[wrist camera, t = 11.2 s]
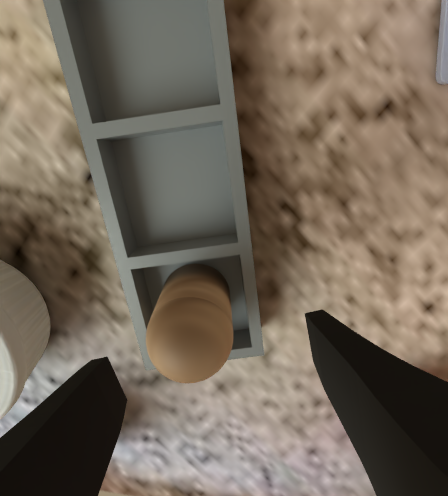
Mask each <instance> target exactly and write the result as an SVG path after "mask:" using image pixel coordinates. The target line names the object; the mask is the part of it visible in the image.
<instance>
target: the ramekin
mask: <svg viewBox="0 0 448 496" xmlns="http://www.w3.org/2000/svg"><path fill="white" fill-rule="evenodd" d="M50 327H51V326H50V317H49V313H48V309H47V306H46V303H45V301H44V299H43V297H42V295H41V294H40V292H39V291H38V289H37V288H36V286H35V285H34V284H33V283H32V282H31V281H30V280H29V279H28V278H27V277H26V276H25V275H24V274H22V273H21V272H20V271H19V270H17V269H16V268H14V267H13V266H11V265H9V264H7V263H5V262H4V261H1V260H0V419H2V418H3V417H4V416H5V415H6V413H7V412H8V411H9V410H10V409H11V408H12V407H13V405H14V404H15V403H16V401H17V400H18V398H19V397H20V395H21V393H22V390H23V388H24V385H25V382H26V380H27V379H28V377H29V376H30V374H31V372H32V371H33V369H34V368H35V366H36V364H37V363H38V361H39V360H40V358H41V357H42V355H43V353H44V351H45V348H46V346H47V344H48V339H49V336H50Z"/></svg>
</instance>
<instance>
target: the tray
mask: <svg viewBox="0 0 448 496" xmlns="http://www.w3.org/2000/svg"><path fill="white" fill-rule="evenodd" d="M43 2H44V6H45V9H46V13H47V17H48V20H49V24H50V27H51V31H52V35H53V38H54V42H55V45H56V49H57V53H58V56H59V60H60V63H61V67H62V71H63V74H64V78H65V81H66V85H67V89H68V92H69V96H70V99H71V103H72V107H73V110H74V114H75V117H76V121H77V125H78V128H79V132H80V135H81V139H82V143H83V146H84V150H85V153H86V157H87V161H88V164H89V168H90V171H91V175H92V179H93V182H94V186H95V189H96V193H97V196H98V200H99V204H100V207H101V211H102V214H103V218H104V222H105V225H106V229H107V232H108V236H109V240H110V243H111V247H112V250H113V254H114V258H115V261H116V265H117V268H118V272H119V276H120V279H121V283H122V286H123V290H124V294H125V297H126V301H127V304H128V308H129V312H130V315H131V319H132V322H133V326H134V330H135V333H136V337H137V340H138V344H139V348H140V351H141V355H142V358H143V362H144V366H145V369H146V370H153V369H156V367H155V366H154V365H153V363H152V361H151V360H150V357H149V355H148V352H147V347H146V331H147V327H148V323H149V321H150V318H151V316H152V313H153V311H154V308H155V306H156V304H157V301H158V299H159V296H160V294H161V292H162V289H163V287H164V284H165V282H166V280H167V278H168V277H169V276H170V274H171V273H172V272H174V271H175V270H176V269H178V268H180V267H182V266H184V265H188V264H204V265H207V266H210V267H212V268H214V269H216V270H217V271H219V272H220V273H221V274H222V275H223V276H224V278H225V279H226V281H227V283H228V286H229V289H230V300H231V311H232V323H233V345H232V349H231V352H230V355H229V357H228V359H227V360H231V359H238V358H246V357H254V356H262V355H264V348H263V340H262V331H261V322H260V314H259V305H258V296H257V287H256V279H255V270H254V261H253V253H252V244H251V235H250V226H249V218H248V209H247V200H246V192H245V183H244V174H243V165H242V157H241V148H240V139H239V131H238V122H237V113H236V104H235V96H234V87H233V78H232V70H231V61H230V52H229V43H228V35H227V26H226V17H225V9H224V0H43Z"/></svg>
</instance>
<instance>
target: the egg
mask: <svg viewBox="0 0 448 496" xmlns="http://www.w3.org/2000/svg"><path fill="white" fill-rule="evenodd" d="M232 345H233V323H232V311H231V300H230V289H229V286H228V283H227V281H226V279H225V278H224V276H223V275H222V274H221V273H220V272H219V271H217V270H216V269H214V268H212V267H210V266H207V265H204V264H188V265H184V266H182V267H180V268H178V269H176V270H175V271H174V272H172V273H171V274H170V276H169V277H168V278H167V280H166V282H165V284H164V287H163V289H162V292H161V294H160V296H159V299H158V301H157V304H156V306H155V308H154V311H153V313H152V316H151V318H150V321H149V323H148V327H147V331H146V347H147V352H148V355H149V357H150V360H151V361H152V363H153V365H154V366H155V367H156V369H157V370H158V371H159V372H160V373H161V374H163V375H164V376H166V377H167V378H169V379H171V380H173V381H176V382H180V383H195V382H199V381H203V380H205V379H208V378H209V377H211V376H212V375H214V374H215V373H216V372H218V371H219V370H220V369H221V367H222V366H223V365H224V364H225V362H226V361H227V359H228V357H229V355H230V352H231V349H232Z"/></svg>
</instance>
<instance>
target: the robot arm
mask: <svg viewBox="0 0 448 496" xmlns="http://www.w3.org/2000/svg"><path fill="white" fill-rule="evenodd" d="M436 80H437V82H438V83H439V84H443V85H444V84H448V0H442V4H441V17H440V29H439V41H438V53H437V65H436ZM305 317H306V323H307V329H308V334H309V340H310V345H311V351H312V357H313V362H314V364H315V367H316V370H317V372H318V375H319V377H320V380H321V382H322V385H323V388H324V390H325V392H326V394H327V396H328V398H329V400H330V402H331V404H332V406H333V407H334V409H335V411H336V413H337V415H338V417H339V419H340V421H341V423H342V425H343V427H344V429H345V431H346V433H347V435H348V436H349V438H350V440H351V442H352V444H353V446H354V448H355V450H356V452H357V454H358V456H359V458H360V460H361V462H362V464H363V466H364V468H365V470H366V472H367V474H368V477H369V479H370V481H371V484H372V486H373V488H374V491H375V493H376V495H377V496H448V382H446V381H444V380H442V379H440V378H438V377H436V376H433V375H431V374H429V373H427V372H425V371H423V370H421V369H419V368H417V367H415V366H413V365H411V364H409V363H407V362H405V361H403V360H401V359H399V358H397V357H396V356H394V355H392V354H390V353H389V352H387V351H385V350H383V349H381V348H380V347H378V346H376V345H375V344H373V343H372V342H370V341H368V340H367V339H365V338H364V337H362V336H361V335H359V334H357V333H356V332H354V331H353V330H351V329H350V328H348V327H347V326H346V325H344V324H343V323H341V322H340V321H338V320H337V319H335V318H334V317H333V316H331V315H330V314H328V313H327V312H325V311H324V310H318V311H314V312H309V313H305ZM126 403H127V398H126V396H125V394H124V392H123V390H122V387H121V385H120V383H119V381H118V379H117V377H116V374H115V372H114V370H113V368H112V366H111V363H110V361H109V359H108V357H104V358H99V359H94V360H91V361H90V362H88V363H87V364H86V365H84V366H83V367H82V368H81V369H80V370H78V371H77V372H76V373H75V374H74V375H72V376H71V377H70V378H69V379H68V380H67V381H66V382H65V383H63V384H62V385H61V386H60V387H59V388H58V389H57V390H55V391H54V392H53V393H52V394H51V395H50V396H49V397H48V398H46V399H45V400H44V401H43V402H42V403H41V404H40V405H39V406H37V407H36V408H35V409H34V410H33V411H32V412H30V413H29V414H28V415H27V416H26V417H25V418H23V419H22V420H21V421H20V422H19V423H17V424H16V425H15V426H14V427H13V428H11V429H10V430H9V431H8V432H7V433H6V434H4V435H3V436H2V437H1V438H0V496H98V494H99V491H100V488H101V485H102V482H103V480H104V477H105V474H106V471H107V468H108V465H109V463H110V460H111V457H112V454H113V451H114V448H115V445H116V442H117V439H118V436H119V433H120V430H121V426H122V422H123V418H124V413H125V408H126Z"/></svg>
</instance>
